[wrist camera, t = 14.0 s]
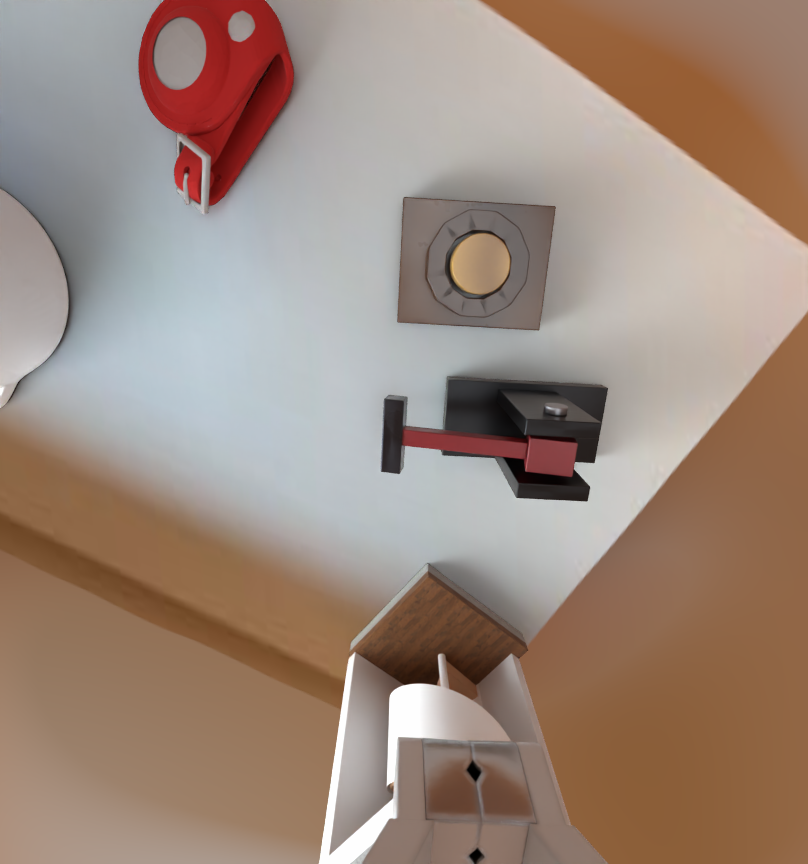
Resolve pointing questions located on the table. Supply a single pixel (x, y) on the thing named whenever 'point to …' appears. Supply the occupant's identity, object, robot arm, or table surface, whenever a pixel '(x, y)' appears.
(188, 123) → the tracker holder
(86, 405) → the table surface
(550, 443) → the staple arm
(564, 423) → the black lever base
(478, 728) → the display case
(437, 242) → the block
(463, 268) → the bell button
